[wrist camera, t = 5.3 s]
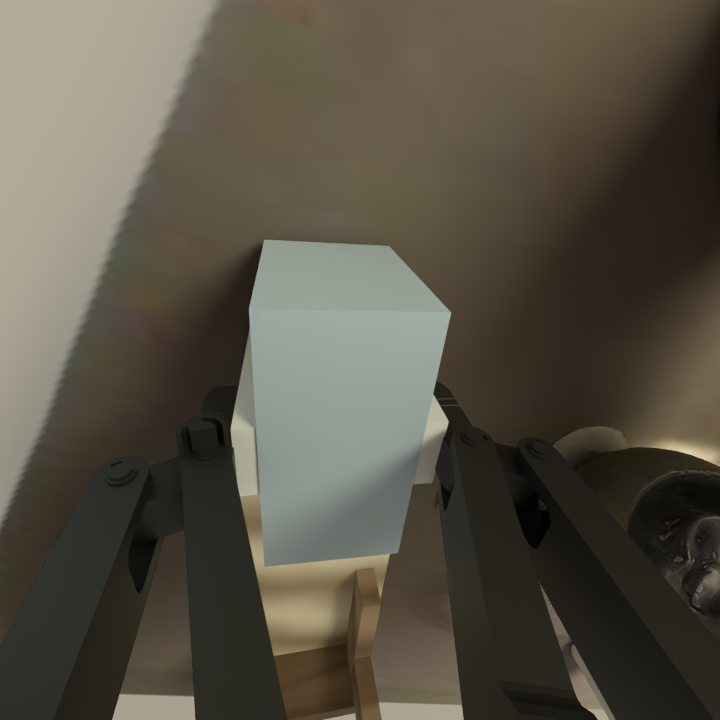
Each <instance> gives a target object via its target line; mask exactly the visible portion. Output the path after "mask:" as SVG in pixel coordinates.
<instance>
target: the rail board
mask: <svg viewBox="0 0 720 720" xmlns="http://www.w3.org/2000/svg"><path fill="white" fill-rule="evenodd" d="M240 499H241V504H242V508H243V513H244V518H245V523H246V527H247V532H248V537H249V541H250V546H251V551H252V556H253V560H254V565H255V570H256V575H257V579H258V584H259V589H260V593H261V598H262V603H263V608H264V612H265V617H266V622H267V627H268V631H269V636H270V641H271V645H272V650H273V655H274V660H275V664H276V669H277V674H278V679H279V683H280V688H281V693H282V697H283V702H284V707H285V712H286V716H287V720H323V719H328V718H333V717H338V716H343V715H347V714H352V713H355V714H356V720H382V719H381V714H380V708H379V702H378V697H377V691H376V686H375V680H374V674H373V669H372V663H371V658H370V655H371V650H372V646H373V641H374V636H375V632H376V627H377V623H378V618H379V613H380V609H381V600H380V599H381V594H382V589H383V584H384V580H385V575H386V570H387V566H388V561H389V556H390V554H386V555H376V556H367V557H357V558H347V559H337V560H328V561H318V562H308V563H298V564H289V565H279V566H269V567H264V552H263V536H262V519H261V502H260V495H249V496H240Z"/></svg>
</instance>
